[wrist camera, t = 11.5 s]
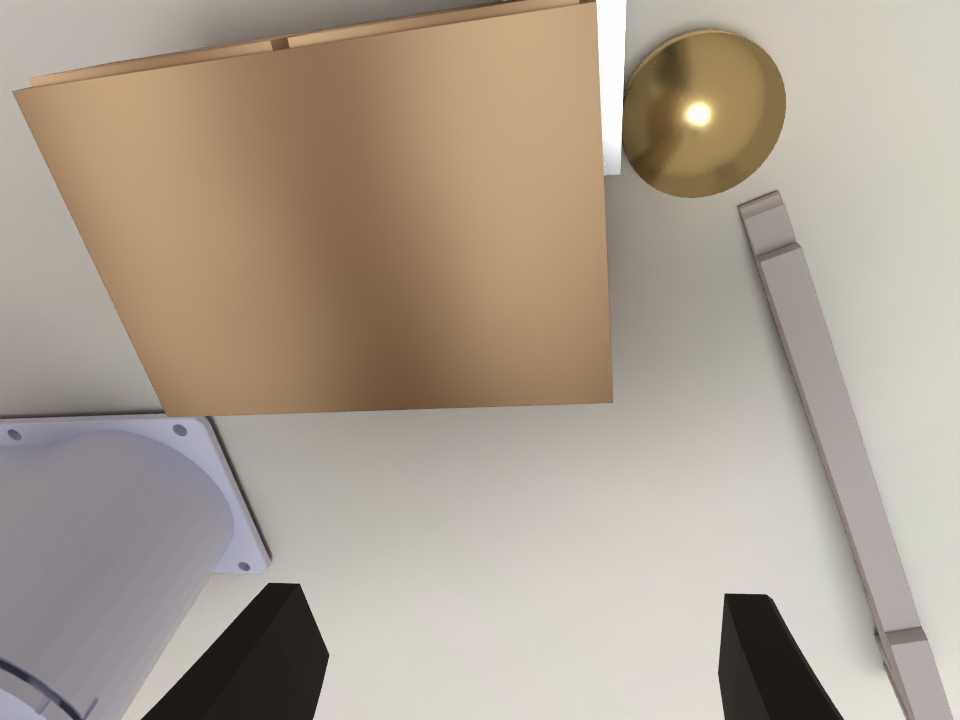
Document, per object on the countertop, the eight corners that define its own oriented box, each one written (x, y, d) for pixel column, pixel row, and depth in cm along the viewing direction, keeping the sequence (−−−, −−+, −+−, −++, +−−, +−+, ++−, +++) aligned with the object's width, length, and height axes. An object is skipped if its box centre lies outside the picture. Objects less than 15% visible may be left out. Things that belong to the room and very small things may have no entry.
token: (615, 185, 17) (617, 199, 16) (622, 33, 15) (625, 37, 14) (759, 182, 16) (771, 196, 15) (785, 23, 14) (800, 27, 13)
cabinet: (278, 299, 20) (167, 417, 14) (195, 46, 16) (7, 82, 11) (605, 276, 18) (613, 402, 13) (592, -17, 14) (596, -11, 9)
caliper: (912, 660, 25) (1003, 849, 19) (881, 665, 25) (961, 851, 20) (775, 185, 16) (868, 289, 11) (731, 203, 17) (800, 311, 11)
